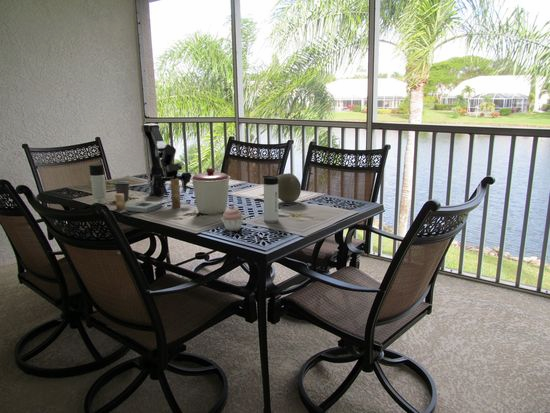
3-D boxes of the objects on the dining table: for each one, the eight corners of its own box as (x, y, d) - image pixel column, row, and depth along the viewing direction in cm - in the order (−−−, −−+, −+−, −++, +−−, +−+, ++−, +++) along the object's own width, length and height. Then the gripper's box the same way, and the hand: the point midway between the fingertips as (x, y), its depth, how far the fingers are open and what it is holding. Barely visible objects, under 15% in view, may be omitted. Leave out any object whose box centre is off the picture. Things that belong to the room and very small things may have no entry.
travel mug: (262, 219, 191) (262, 174, 186) (277, 218, 192) (277, 174, 187) (263, 223, 185) (263, 177, 180) (279, 222, 186) (278, 176, 181)
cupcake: (217, 230, 175) (216, 206, 173) (227, 224, 184) (227, 201, 181) (238, 233, 172) (237, 208, 170) (247, 226, 181) (247, 203, 178)
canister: (197, 207, 213) (194, 164, 208) (233, 207, 213) (232, 164, 208) (188, 217, 196) (186, 170, 191) (228, 217, 195) (227, 170, 190)
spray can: (110, 202, 224) (106, 163, 219) (101, 205, 218) (96, 165, 213) (99, 201, 226) (95, 163, 221) (90, 204, 220) (85, 165, 215)
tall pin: (170, 207, 212) (168, 179, 209) (175, 205, 216) (173, 178, 212) (177, 208, 211) (175, 180, 207) (182, 206, 214) (180, 178, 211)
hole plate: (126, 210, 208) (125, 206, 208) (142, 204, 219) (142, 200, 218) (146, 212, 203) (145, 208, 203) (162, 206, 214) (161, 202, 214)
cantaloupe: (286, 198, 231) (286, 170, 227) (306, 202, 221) (306, 173, 217) (267, 202, 221) (267, 173, 217) (287, 207, 211) (287, 177, 208)
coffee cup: (134, 198, 232) (132, 180, 229) (123, 202, 224) (121, 183, 222) (123, 197, 235) (121, 179, 232) (111, 200, 228) (109, 181, 225)
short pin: (114, 208, 211) (113, 194, 209) (120, 207, 214) (119, 193, 213) (121, 209, 209) (119, 195, 207) (126, 207, 213) (125, 193, 211)
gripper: (151, 158, 206) (159, 185, 200) (189, 156, 215) (197, 181, 209) (148, 172, 215) (156, 198, 208) (185, 169, 224) (193, 194, 217)
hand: (176, 193), depth 210 cm, fingers open, 9 cm apart
